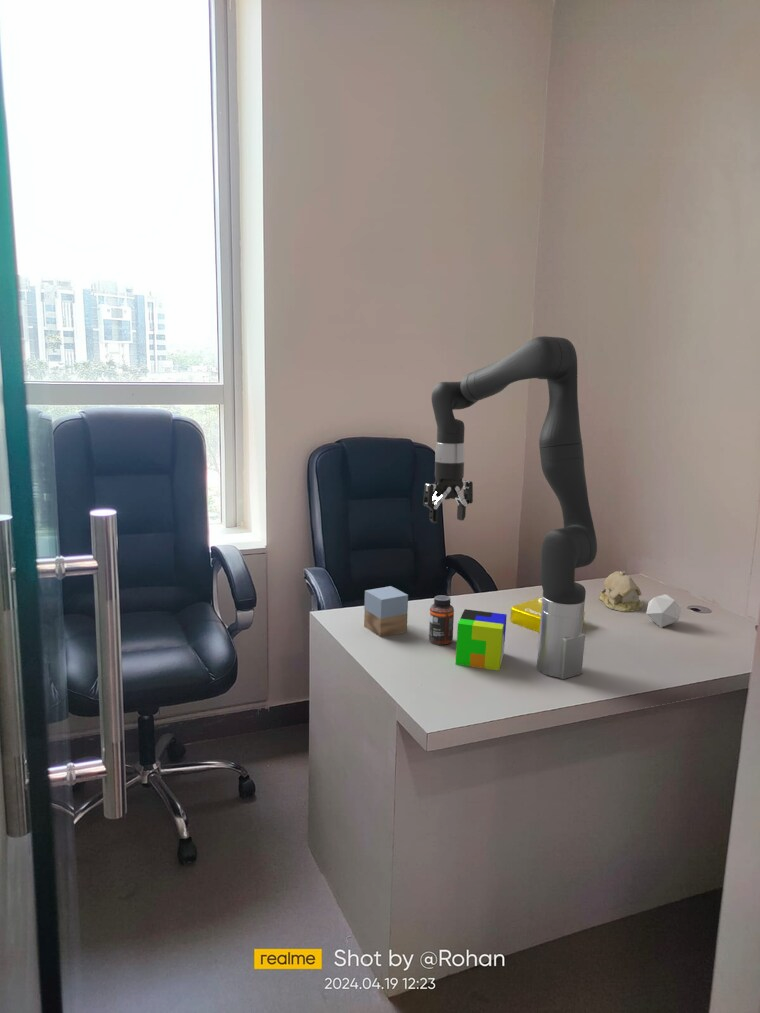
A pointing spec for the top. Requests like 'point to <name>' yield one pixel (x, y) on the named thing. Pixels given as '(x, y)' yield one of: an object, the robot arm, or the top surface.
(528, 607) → the element tile
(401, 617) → the tower base block
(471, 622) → the puzzle toy
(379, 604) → the tower top block
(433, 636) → the supplement bottle
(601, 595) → the ceramic model
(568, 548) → the robot arm
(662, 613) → the die
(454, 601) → the top surface
